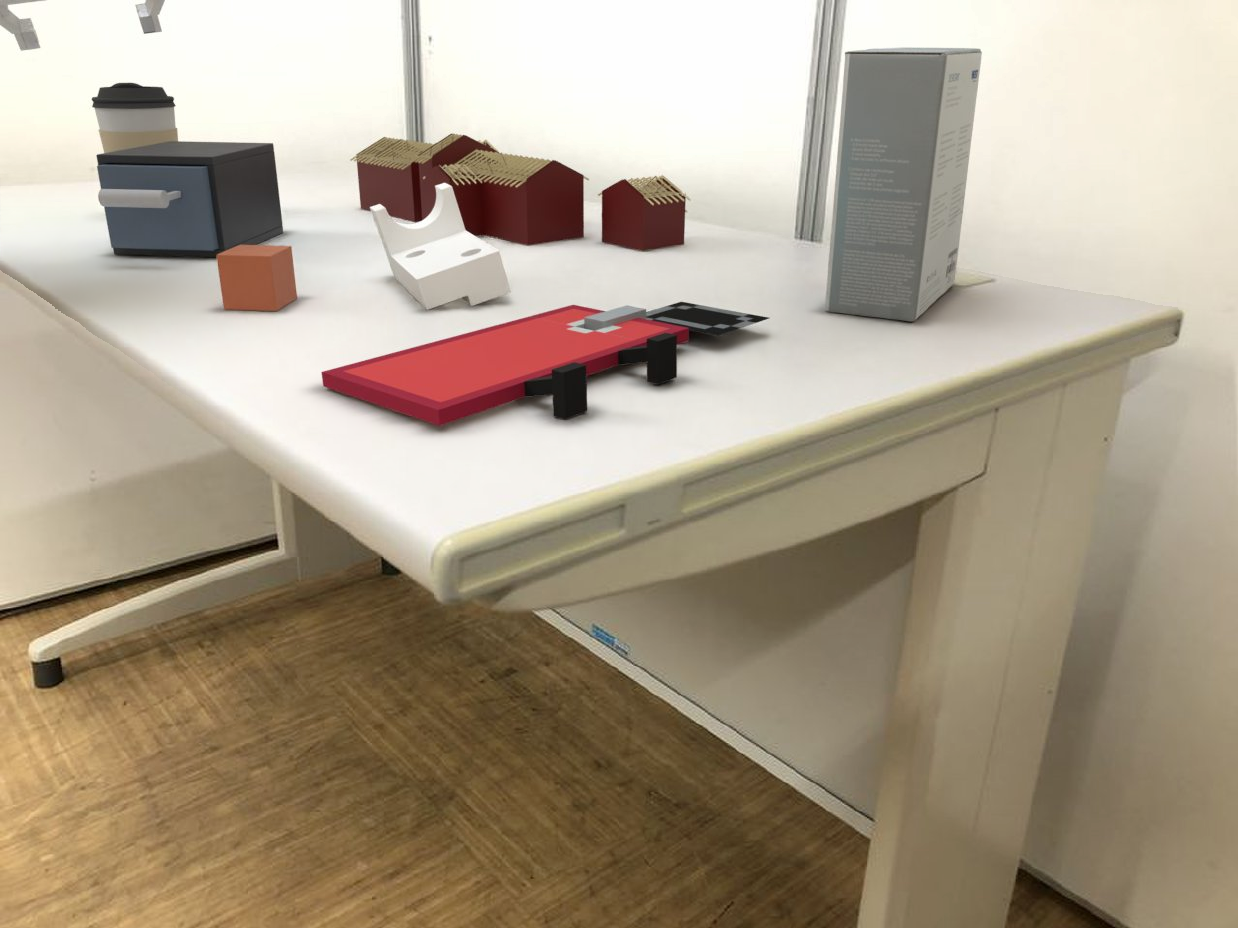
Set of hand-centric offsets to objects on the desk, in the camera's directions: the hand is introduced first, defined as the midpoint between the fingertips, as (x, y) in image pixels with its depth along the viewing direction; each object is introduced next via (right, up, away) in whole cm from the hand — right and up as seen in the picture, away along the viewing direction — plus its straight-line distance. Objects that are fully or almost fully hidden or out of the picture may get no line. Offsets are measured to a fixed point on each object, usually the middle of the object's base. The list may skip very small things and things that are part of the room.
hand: (91, 37), depth 85 cm
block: (+15, -22, -1) cm, 27 cm away
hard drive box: (+67, -22, +3) cm, 71 cm away
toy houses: (+31, -8, +36) cm, 48 cm away
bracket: (+28, -21, +4) cm, 35 cm away
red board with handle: (+41, -29, -15) cm, 52 cm away
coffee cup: (-14, -5, +41) cm, 43 cm away
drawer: (-1, -13, +19) cm, 23 cm away
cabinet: (0, -12, +23) cm, 26 cm away
